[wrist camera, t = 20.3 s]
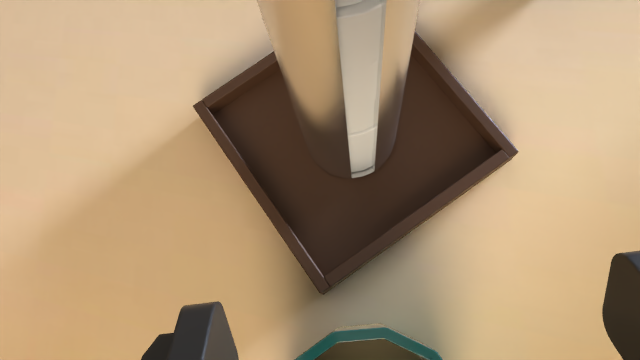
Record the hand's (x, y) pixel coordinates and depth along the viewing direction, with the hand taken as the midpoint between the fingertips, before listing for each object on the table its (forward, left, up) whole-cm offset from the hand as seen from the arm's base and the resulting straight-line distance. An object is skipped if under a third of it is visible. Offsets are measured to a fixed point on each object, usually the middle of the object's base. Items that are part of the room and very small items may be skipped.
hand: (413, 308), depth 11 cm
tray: (-6, -11, -25) cm, 28 cm away
